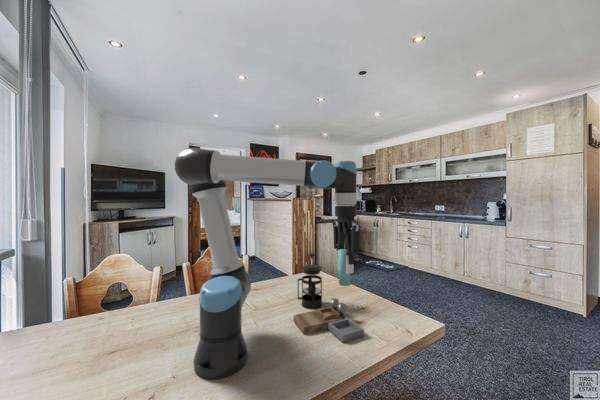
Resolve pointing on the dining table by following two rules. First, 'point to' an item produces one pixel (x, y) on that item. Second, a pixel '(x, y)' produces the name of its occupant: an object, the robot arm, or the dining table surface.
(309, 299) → the french press
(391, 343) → the dining table surface
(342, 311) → the bench dogs
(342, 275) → the dowel
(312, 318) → the brown flat block
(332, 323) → the tray
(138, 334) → the dining table surface
